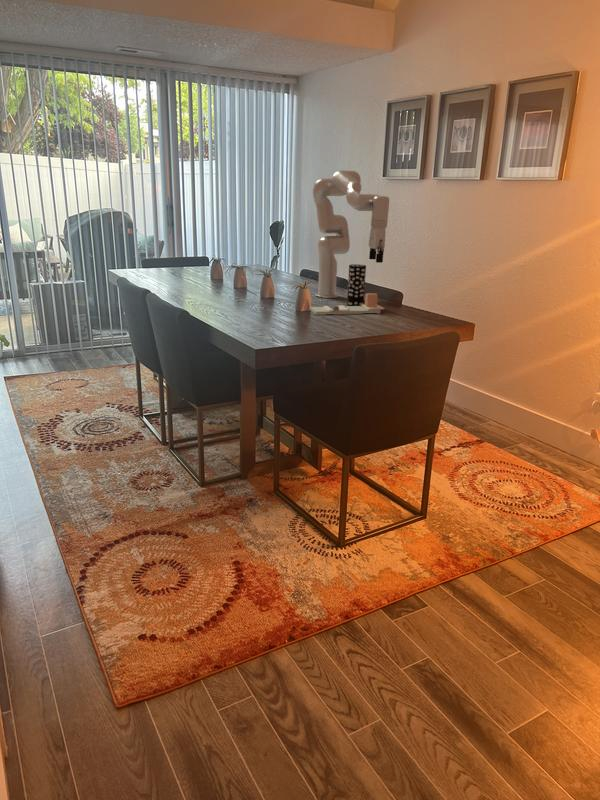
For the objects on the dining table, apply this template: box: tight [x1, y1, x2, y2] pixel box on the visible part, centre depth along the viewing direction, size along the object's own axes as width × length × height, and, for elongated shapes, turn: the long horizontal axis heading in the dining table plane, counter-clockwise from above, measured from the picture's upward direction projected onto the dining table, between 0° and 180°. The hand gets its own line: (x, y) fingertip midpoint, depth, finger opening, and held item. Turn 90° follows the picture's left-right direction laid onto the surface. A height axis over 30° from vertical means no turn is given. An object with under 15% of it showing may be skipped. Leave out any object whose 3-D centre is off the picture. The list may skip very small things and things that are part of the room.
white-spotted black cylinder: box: [346, 264, 367, 306], centre depth 299 cm, size 8×8×20 cm
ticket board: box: [309, 301, 382, 316], centre depth 287 cm, size 12×32×4 cm, turn 104°
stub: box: [361, 292, 385, 310], centre depth 289 cm, size 10×8×7 cm
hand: (375, 260), depth 288 cm, fingers open, 9 cm apart
